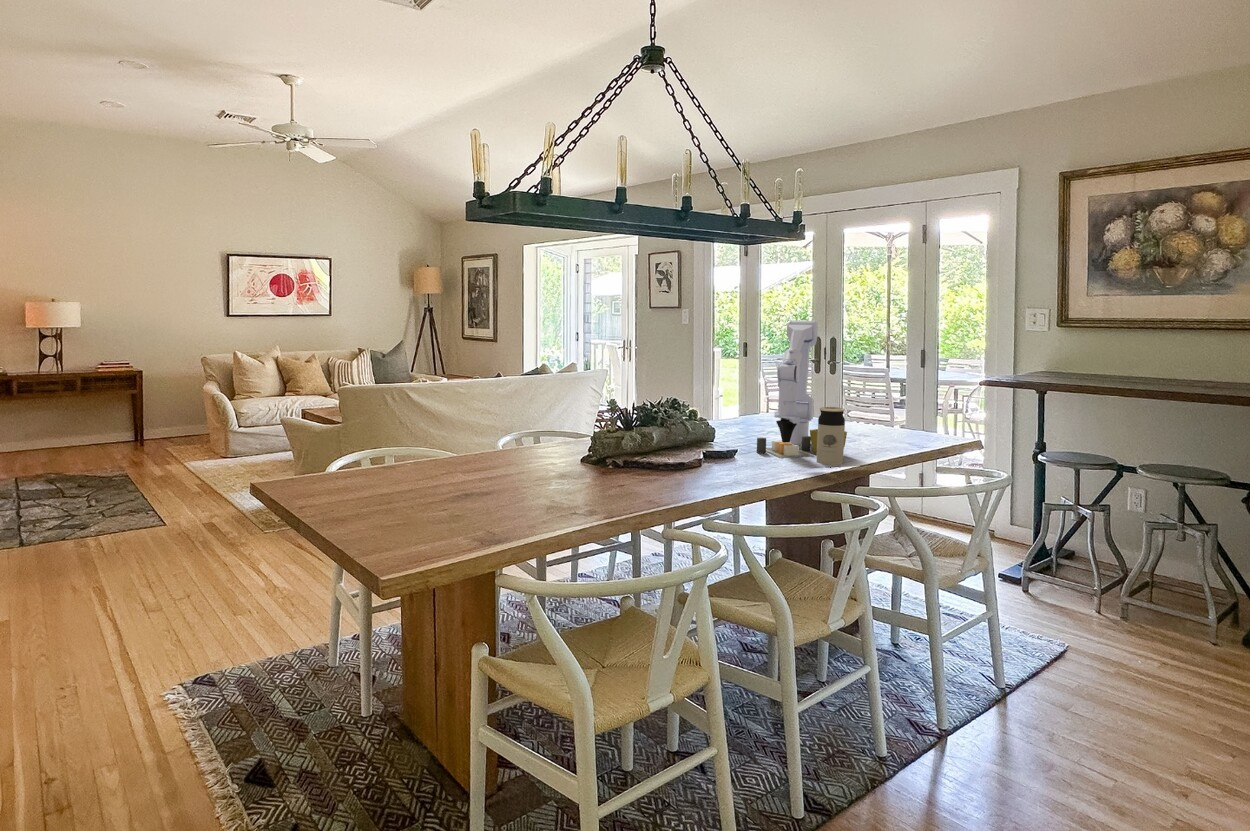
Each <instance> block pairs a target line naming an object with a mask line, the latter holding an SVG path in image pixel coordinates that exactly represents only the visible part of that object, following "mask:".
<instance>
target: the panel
mask: <svg viewBox="0 0 1250 831" xmlns="http://www.w3.org/2000/svg"><path fill="white" fill-rule="evenodd" d="M766 453H767V454H769V455H771V456H774V457H775V458H779V459H793V458H798V459H799V458H814V457H815V454H811V453H810V452H805V451H802V450H801V449H799V453H798V455H793V456H786V455H784V453H779V452H778V451H775V450H772V447H766Z"/></svg>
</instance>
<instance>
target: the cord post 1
mask: <svg viewBox="0 0 1250 831" xmlns="http://www.w3.org/2000/svg"><path fill="white" fill-rule="evenodd" d="M766 448H767V437H757V438H756V453H757V454H760V455H761V454H762V455H765V454H766V453H767V452H766Z"/></svg>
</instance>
